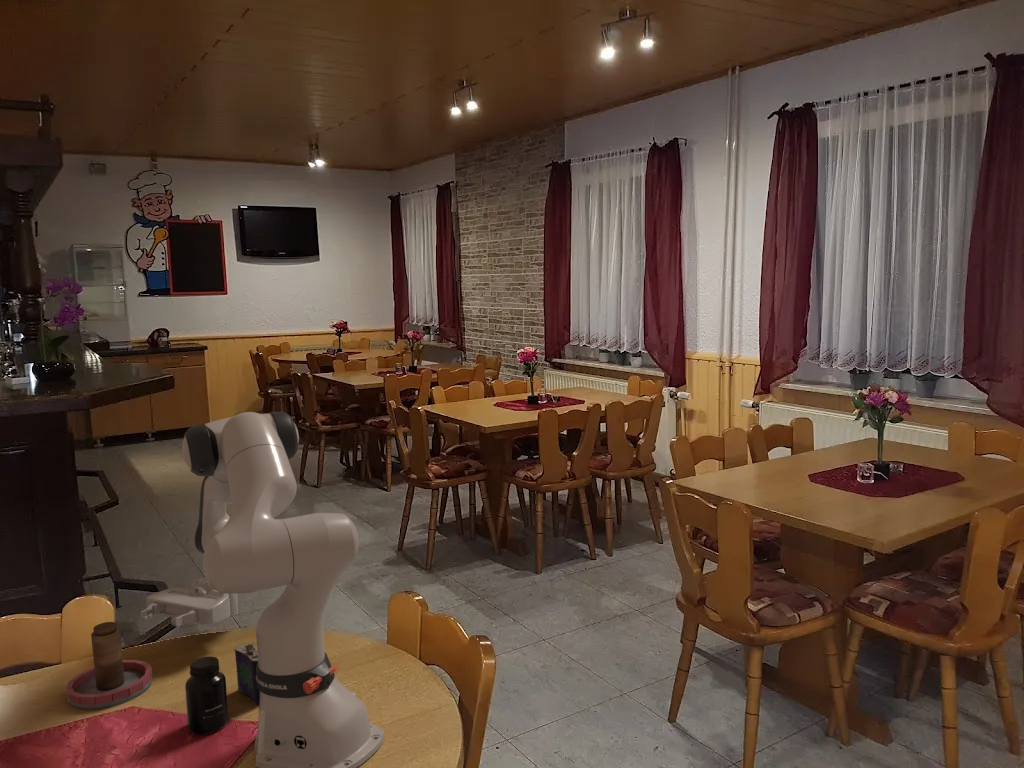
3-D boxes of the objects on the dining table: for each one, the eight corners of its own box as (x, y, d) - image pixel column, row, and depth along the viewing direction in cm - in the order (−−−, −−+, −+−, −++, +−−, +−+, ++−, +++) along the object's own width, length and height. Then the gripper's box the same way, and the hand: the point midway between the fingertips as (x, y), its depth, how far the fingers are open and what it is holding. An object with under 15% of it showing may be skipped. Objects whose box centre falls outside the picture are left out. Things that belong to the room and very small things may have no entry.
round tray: (168, 679, 158) (167, 667, 158) (101, 716, 145) (100, 703, 145) (118, 666, 165) (117, 655, 165) (50, 700, 152) (49, 688, 151)
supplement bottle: (215, 737, 137) (209, 672, 135) (180, 734, 138) (174, 670, 137) (236, 716, 143) (231, 654, 142) (203, 713, 145) (197, 652, 143)
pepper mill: (130, 681, 156) (124, 623, 155) (107, 693, 152) (101, 633, 150) (113, 676, 158) (107, 619, 157) (90, 688, 154) (84, 629, 152)
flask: (235, 691, 153) (231, 639, 151) (249, 685, 155) (246, 634, 154) (257, 707, 146) (253, 653, 145) (272, 701, 148) (268, 648, 147)
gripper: (175, 577, 181) (123, 598, 169) (241, 588, 172) (190, 611, 160) (177, 603, 182) (125, 626, 170) (243, 615, 173) (193, 641, 161)
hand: (157, 619), depth 165 cm, fingers open, 8 cm apart
